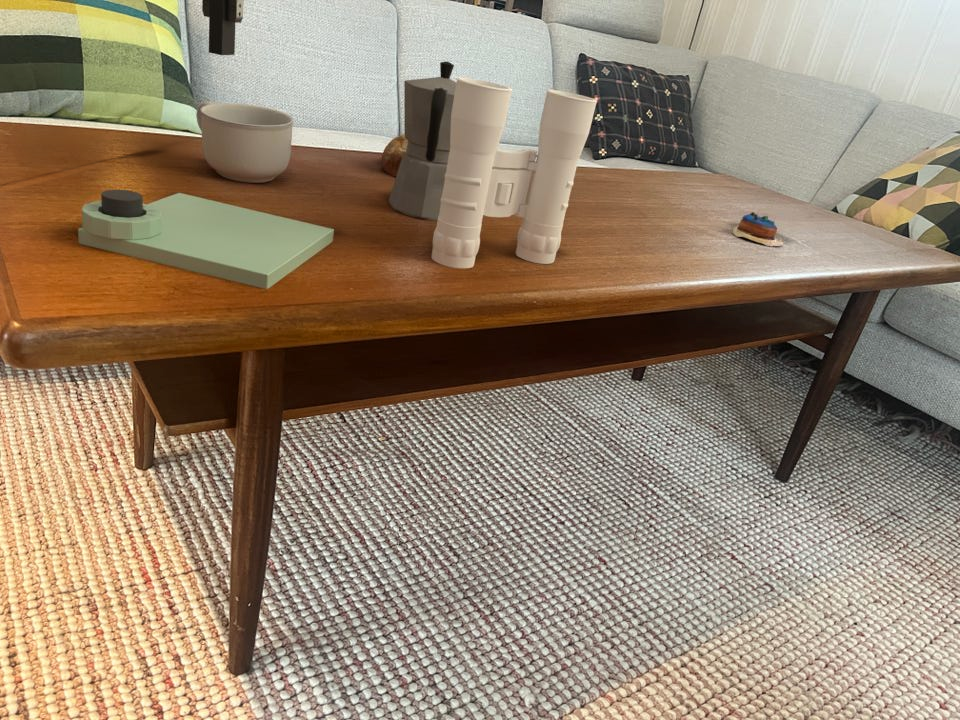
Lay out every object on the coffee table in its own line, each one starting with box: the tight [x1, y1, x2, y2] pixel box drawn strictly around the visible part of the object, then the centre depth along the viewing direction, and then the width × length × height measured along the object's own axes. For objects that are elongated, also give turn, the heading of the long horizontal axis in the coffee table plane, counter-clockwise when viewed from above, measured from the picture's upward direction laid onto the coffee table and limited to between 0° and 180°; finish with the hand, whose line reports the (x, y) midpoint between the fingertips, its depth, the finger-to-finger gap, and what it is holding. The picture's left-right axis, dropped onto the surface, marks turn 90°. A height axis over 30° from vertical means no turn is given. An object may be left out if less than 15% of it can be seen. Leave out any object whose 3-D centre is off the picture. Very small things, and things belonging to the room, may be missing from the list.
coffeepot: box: [388, 61, 457, 222], centre depth 89 cm, size 15×9×18 cm, turn 179°
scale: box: [77, 192, 335, 290], centre depth 68 cm, size 18×16×3 cm
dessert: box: [732, 211, 784, 247], centre depth 116 cm, size 8×7×6 cm
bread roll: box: [381, 133, 408, 177], centre depth 110 cm, size 10×10×8 cm
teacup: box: [195, 100, 294, 184], centre depth 91 cm, size 14×11×8 cm
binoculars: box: [431, 77, 598, 269], centre depth 77 cm, size 17×5×18 cm, turn 127°
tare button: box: [100, 189, 144, 218], centre depth 63 cm, size 3×3×2 cm
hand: (221, 53), depth 78 cm, fingers closed
